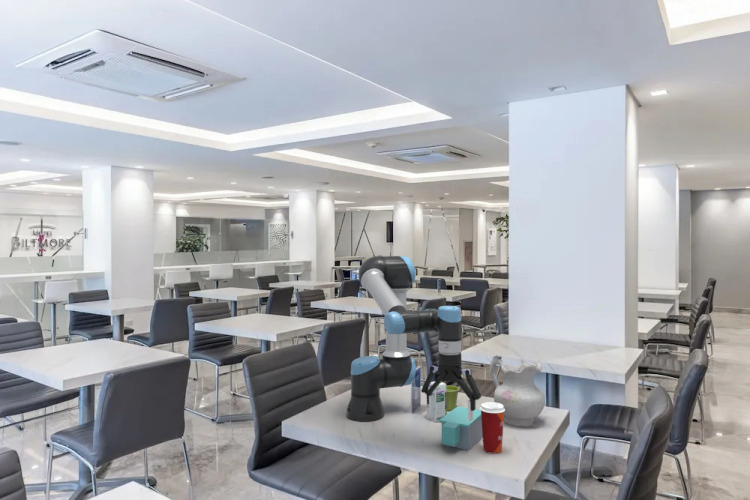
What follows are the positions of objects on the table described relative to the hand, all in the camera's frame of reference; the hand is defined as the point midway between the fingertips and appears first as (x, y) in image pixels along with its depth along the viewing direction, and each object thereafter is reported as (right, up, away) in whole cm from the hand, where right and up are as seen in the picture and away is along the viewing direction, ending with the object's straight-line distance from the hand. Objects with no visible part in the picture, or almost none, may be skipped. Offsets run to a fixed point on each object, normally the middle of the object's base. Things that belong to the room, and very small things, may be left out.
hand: (450, 417), depth 169 cm
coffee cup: (+14, -12, +2) cm, 19 cm away
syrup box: (-1, -12, +33) cm, 35 cm away
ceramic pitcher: (+30, -12, +31) cm, 45 cm away
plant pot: (+6, -12, +47) cm, 49 cm away
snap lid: (+5, -9, +8) cm, 13 cm away
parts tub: (+6, -12, +10) cm, 16 cm away
